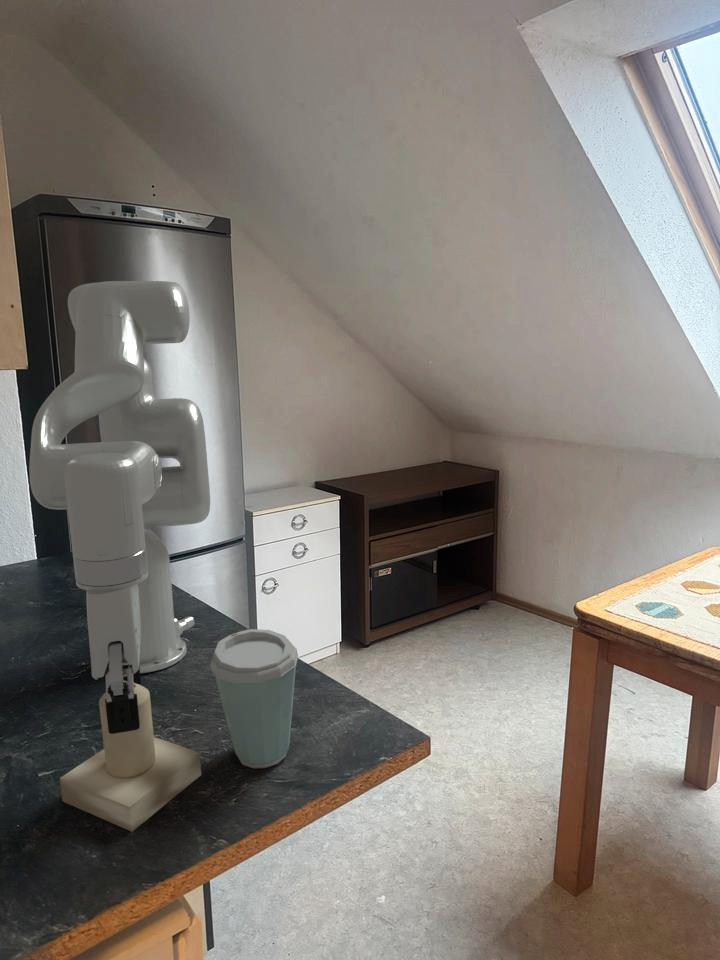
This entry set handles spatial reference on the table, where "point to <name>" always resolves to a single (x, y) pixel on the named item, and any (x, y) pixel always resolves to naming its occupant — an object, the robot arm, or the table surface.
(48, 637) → the table surface
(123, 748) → the candle
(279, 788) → the table surface
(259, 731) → the disposable coffee cup
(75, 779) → the plinth
